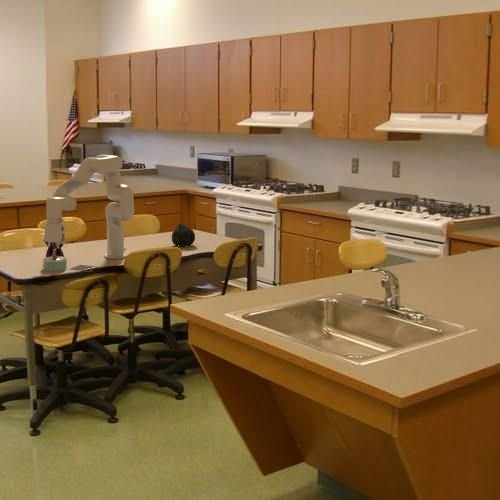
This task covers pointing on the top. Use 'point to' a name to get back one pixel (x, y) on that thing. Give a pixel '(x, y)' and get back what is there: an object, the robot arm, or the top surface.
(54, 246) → the vegetable
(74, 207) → the robot arm
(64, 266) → the bowl
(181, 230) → the squash
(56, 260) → the lid
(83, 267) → the mat
